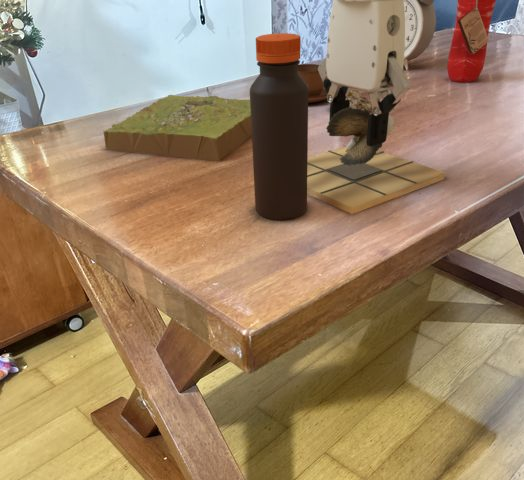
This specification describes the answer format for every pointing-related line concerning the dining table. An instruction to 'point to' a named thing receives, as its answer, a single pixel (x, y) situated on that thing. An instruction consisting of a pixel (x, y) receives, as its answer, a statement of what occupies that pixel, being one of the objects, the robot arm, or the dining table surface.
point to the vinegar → (279, 128)
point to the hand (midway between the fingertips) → (356, 136)
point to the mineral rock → (358, 101)
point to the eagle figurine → (355, 134)
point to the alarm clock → (418, 27)
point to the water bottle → (469, 39)
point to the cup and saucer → (312, 82)
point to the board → (365, 179)
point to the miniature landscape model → (184, 128)
